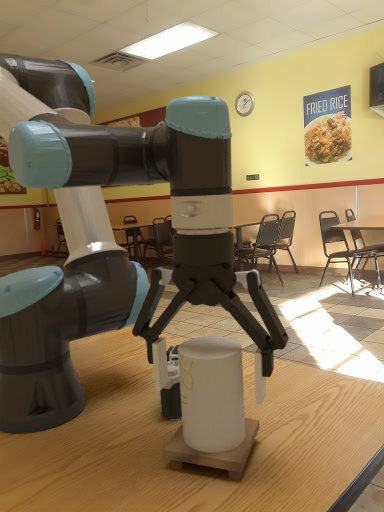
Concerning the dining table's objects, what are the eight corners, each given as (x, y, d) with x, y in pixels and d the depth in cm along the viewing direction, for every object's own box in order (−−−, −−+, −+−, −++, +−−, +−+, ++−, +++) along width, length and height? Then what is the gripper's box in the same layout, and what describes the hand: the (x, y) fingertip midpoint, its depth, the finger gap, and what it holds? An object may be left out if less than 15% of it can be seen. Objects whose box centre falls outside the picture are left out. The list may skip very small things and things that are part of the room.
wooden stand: (164, 474, 55) (163, 449, 55) (192, 432, 64) (191, 410, 64) (242, 489, 51) (241, 463, 51) (259, 442, 61) (259, 420, 60)
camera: (208, 427, 66) (205, 364, 64) (154, 423, 68) (149, 361, 66) (225, 381, 81) (223, 329, 80) (180, 379, 83) (177, 328, 82)
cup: (188, 417, 62) (183, 336, 60) (246, 419, 61) (242, 336, 59) (178, 451, 54) (172, 359, 52) (244, 453, 53) (240, 359, 51)
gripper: (98, 234, 54) (111, 393, 58) (303, 233, 46) (304, 421, 49) (127, 227, 61) (137, 370, 65) (310, 226, 53) (310, 391, 56)
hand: (209, 392), depth 57 cm, fingers open, 13 cm apart
